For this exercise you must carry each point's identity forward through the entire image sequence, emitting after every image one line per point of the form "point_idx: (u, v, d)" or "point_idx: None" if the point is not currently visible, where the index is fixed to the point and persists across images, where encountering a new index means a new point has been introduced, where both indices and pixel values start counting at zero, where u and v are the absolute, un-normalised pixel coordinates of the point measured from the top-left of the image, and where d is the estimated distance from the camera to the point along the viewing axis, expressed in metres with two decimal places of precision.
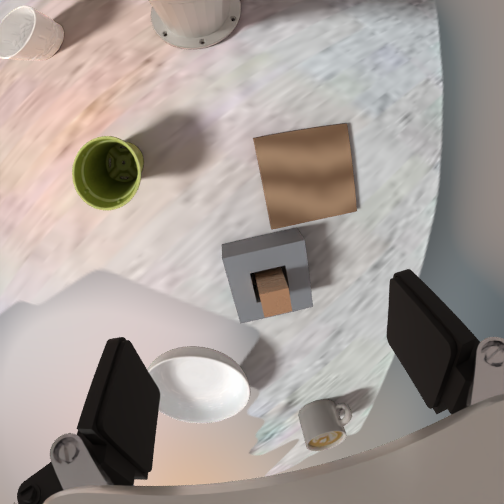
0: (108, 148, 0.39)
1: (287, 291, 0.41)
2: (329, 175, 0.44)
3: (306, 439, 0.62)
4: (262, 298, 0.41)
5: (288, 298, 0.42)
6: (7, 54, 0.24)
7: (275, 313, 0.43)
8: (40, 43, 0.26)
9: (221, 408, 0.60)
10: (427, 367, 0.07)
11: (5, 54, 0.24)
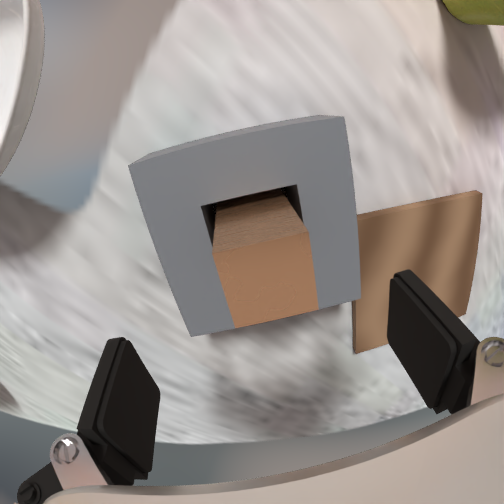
0: None
1: (307, 308, 0.14)
2: None
3: None
4: (293, 241, 0.13)
5: (283, 313, 0.14)
6: None
7: (228, 285, 0.13)
8: None
9: None
10: (427, 367, 0.07)
11: None
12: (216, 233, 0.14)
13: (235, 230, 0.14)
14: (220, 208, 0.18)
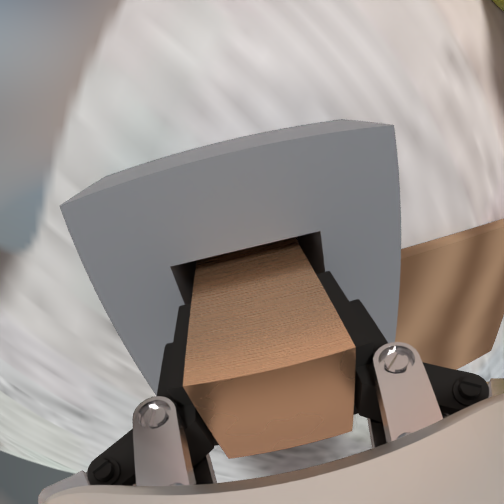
0: None
1: (336, 432, 0.08)
2: (444, 350, 0.21)
3: None
4: (327, 363, 0.07)
5: (300, 442, 0.08)
6: None
7: (215, 421, 0.07)
8: None
9: None
10: None
11: None
12: (192, 329, 0.08)
13: (224, 327, 0.08)
14: (201, 264, 0.12)
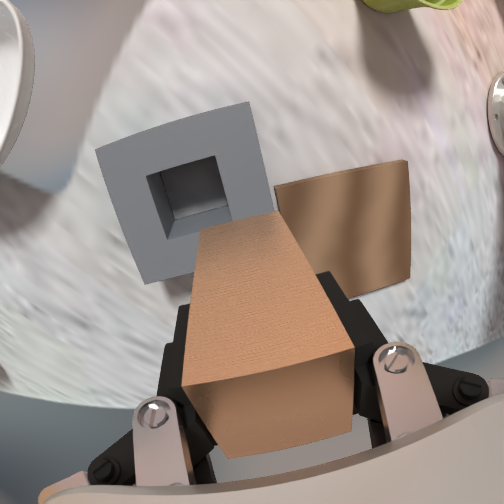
0: None
1: (335, 432, 0.08)
2: (353, 266, 0.32)
3: None
4: (327, 363, 0.07)
5: (299, 442, 0.08)
6: None
7: (214, 421, 0.07)
8: None
9: None
10: None
11: None
12: (191, 329, 0.08)
13: (223, 327, 0.08)
14: (200, 264, 0.12)
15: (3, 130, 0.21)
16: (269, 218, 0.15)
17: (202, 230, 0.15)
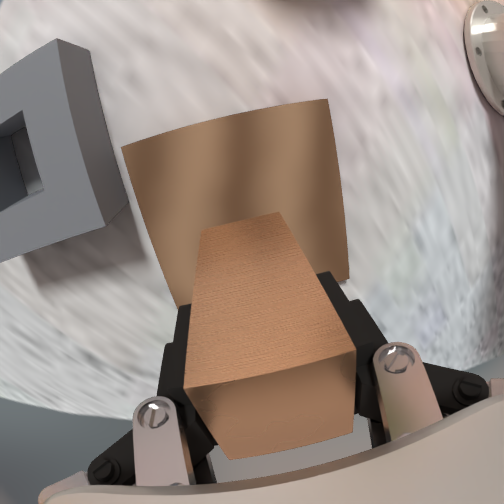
0: None
1: (336, 434, 0.08)
2: None
3: None
4: (328, 365, 0.07)
5: (300, 443, 0.08)
6: None
7: (216, 423, 0.07)
8: None
9: None
10: None
11: None
12: (192, 331, 0.08)
13: (224, 329, 0.08)
14: (201, 265, 0.12)
15: None
16: (270, 219, 0.15)
17: (203, 231, 0.15)
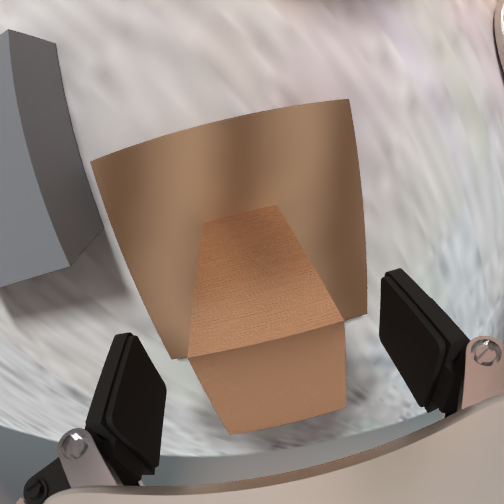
0: None
1: (331, 408, 0.09)
2: None
3: None
4: (319, 335, 0.07)
5: (296, 417, 0.09)
6: None
7: (217, 393, 0.08)
8: None
9: None
10: (418, 365, 0.08)
11: None
12: (196, 309, 0.09)
13: (225, 306, 0.09)
14: (203, 253, 0.13)
15: None
16: (268, 211, 0.16)
17: (205, 223, 0.16)
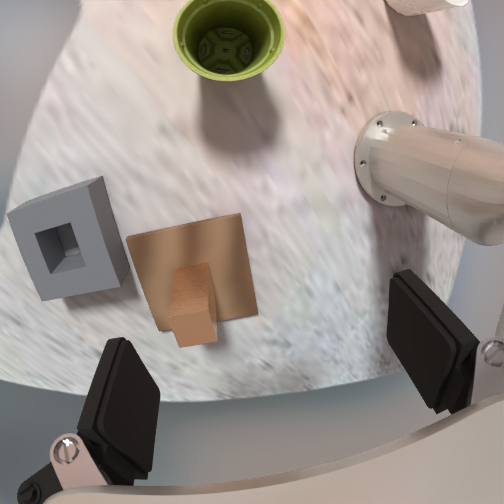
0: (250, 34, 0.26)
1: (212, 340, 0.30)
2: None
3: None
4: (201, 313, 0.28)
5: (200, 342, 0.30)
6: None
7: (175, 329, 0.29)
8: None
9: None
10: (427, 367, 0.07)
11: None
12: (170, 304, 0.30)
13: (179, 304, 0.30)
14: (174, 284, 0.33)
15: None
16: (202, 266, 0.36)
17: (176, 269, 0.37)
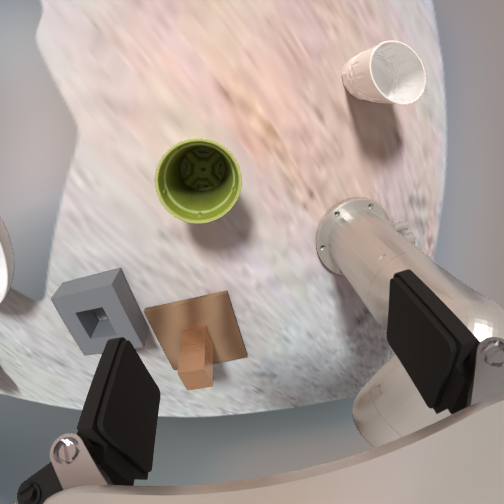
0: None
1: (209, 385, 0.42)
2: None
3: None
4: (200, 370, 0.40)
5: (201, 387, 0.42)
6: None
7: (183, 380, 0.41)
8: (369, 94, 0.31)
9: None
10: (427, 367, 0.07)
11: None
12: (179, 362, 0.42)
13: (185, 363, 0.42)
14: (182, 345, 0.46)
15: (3, 267, 0.41)
16: (202, 328, 0.48)
17: (183, 330, 0.49)
